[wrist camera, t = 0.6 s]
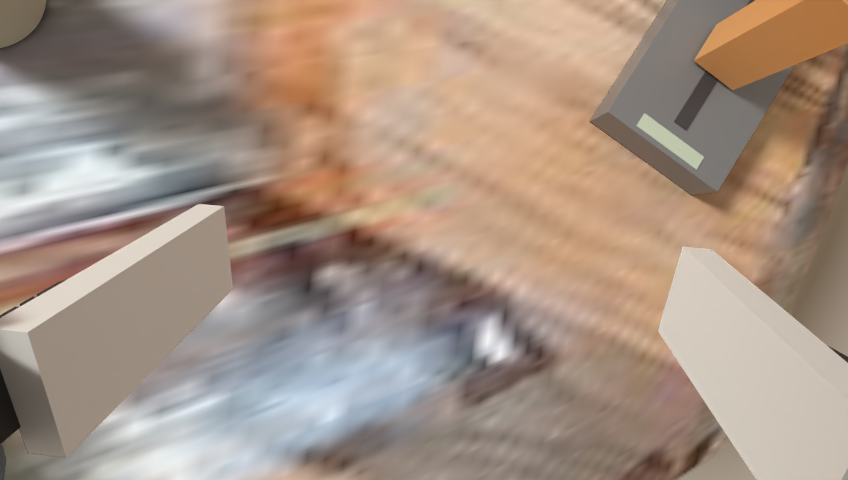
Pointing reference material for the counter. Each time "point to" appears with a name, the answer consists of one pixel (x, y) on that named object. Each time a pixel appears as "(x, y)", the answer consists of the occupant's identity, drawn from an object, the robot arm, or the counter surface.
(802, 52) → the breaker handle
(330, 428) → the counter surface
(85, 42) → the counter surface
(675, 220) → the counter surface
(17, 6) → the travel mug
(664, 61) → the switch box
